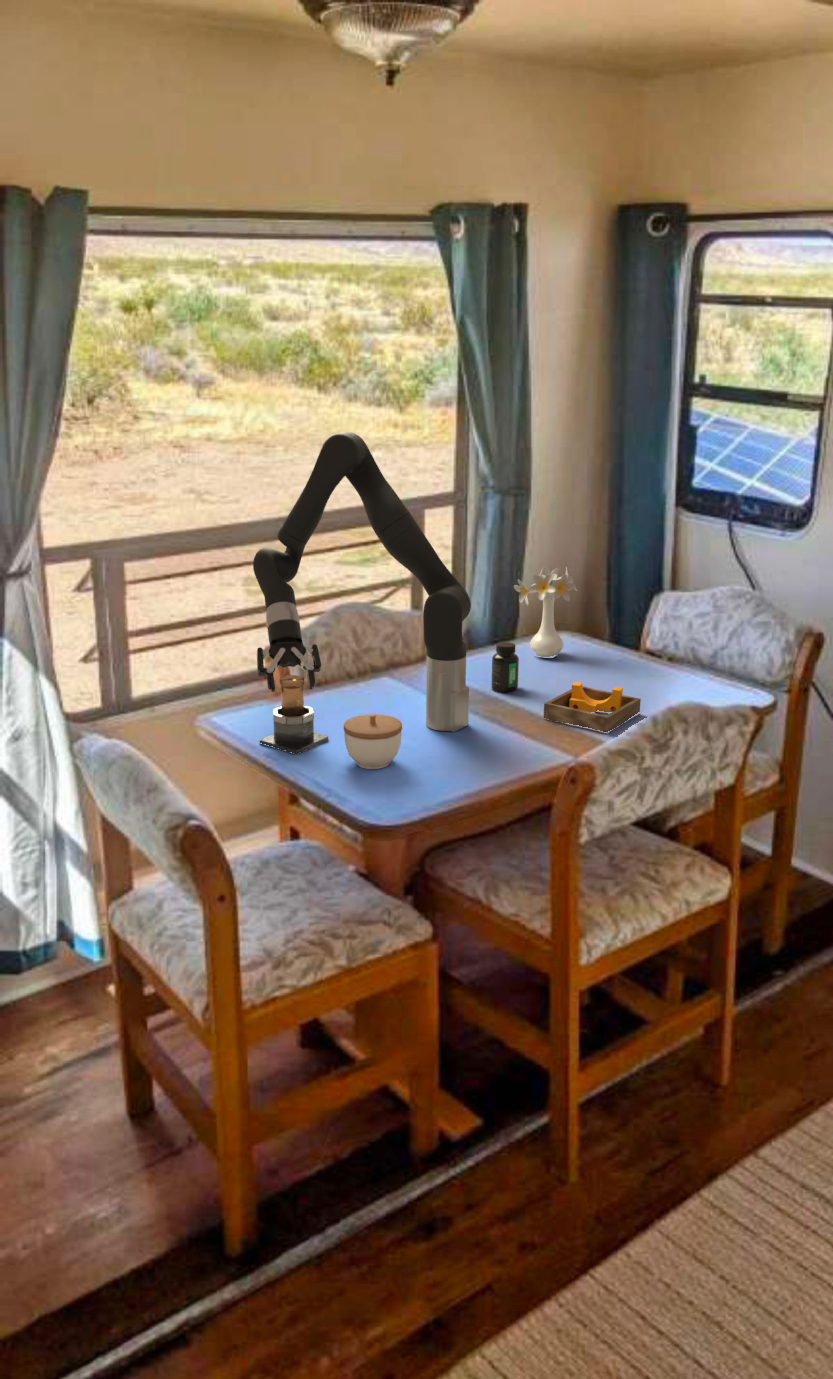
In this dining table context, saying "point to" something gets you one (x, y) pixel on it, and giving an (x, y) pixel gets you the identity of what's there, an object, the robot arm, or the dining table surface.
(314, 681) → the robot arm
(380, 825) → the dining table surface
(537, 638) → the flower vase
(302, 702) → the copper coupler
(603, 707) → the pipe clamp
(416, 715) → the dining table surface
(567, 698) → the hardware corral
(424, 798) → the dining table surface
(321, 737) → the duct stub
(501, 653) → the supplement bottle
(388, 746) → the lidded bowl
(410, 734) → the dining table surface
